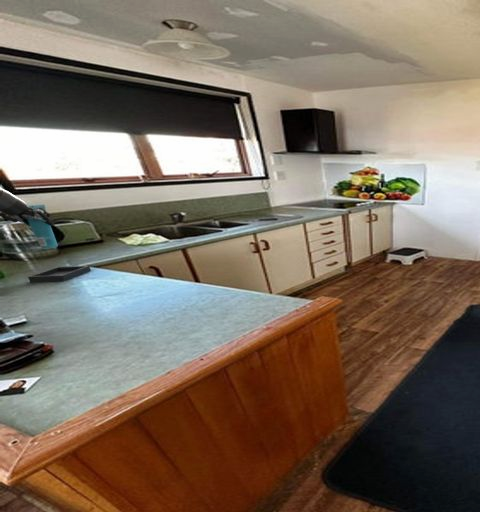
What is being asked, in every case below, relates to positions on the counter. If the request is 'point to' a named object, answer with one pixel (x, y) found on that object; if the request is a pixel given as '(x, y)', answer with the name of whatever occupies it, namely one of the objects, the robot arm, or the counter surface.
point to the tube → (42, 230)
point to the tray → (59, 274)
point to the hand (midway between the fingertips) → (43, 224)
